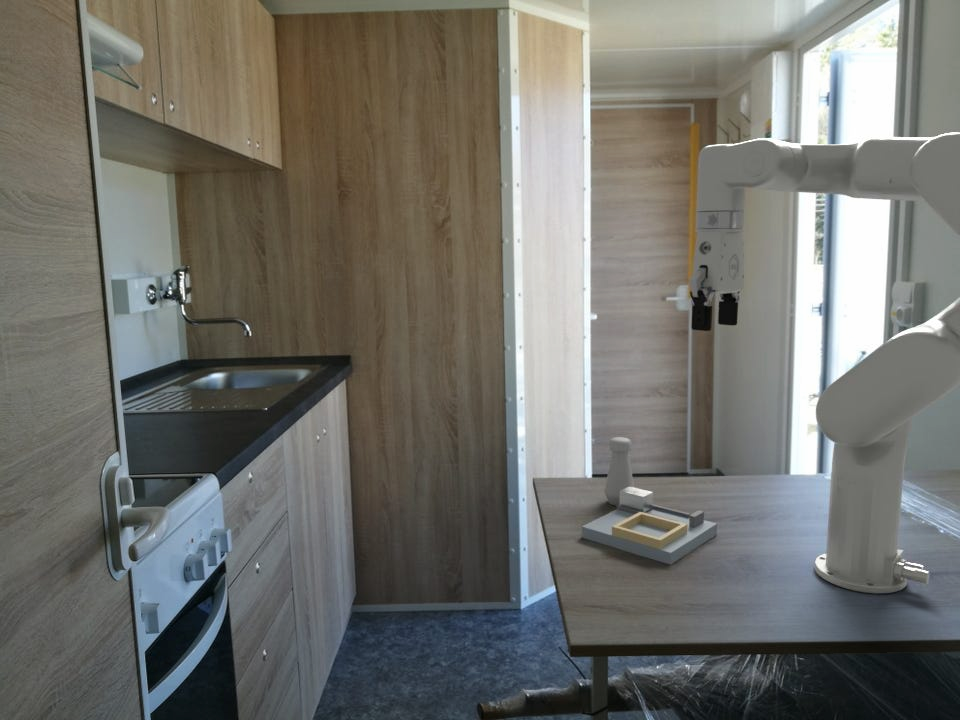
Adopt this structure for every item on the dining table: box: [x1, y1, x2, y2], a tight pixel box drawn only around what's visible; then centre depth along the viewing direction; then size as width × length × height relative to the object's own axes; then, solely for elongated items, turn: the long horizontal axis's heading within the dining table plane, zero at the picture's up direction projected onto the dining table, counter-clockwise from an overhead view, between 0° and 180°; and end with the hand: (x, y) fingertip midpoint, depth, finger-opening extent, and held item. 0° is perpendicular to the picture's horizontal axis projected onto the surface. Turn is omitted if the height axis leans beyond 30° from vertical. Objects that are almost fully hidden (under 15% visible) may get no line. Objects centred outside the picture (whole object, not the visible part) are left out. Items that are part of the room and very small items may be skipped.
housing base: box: [581, 503, 718, 565], centre depth 130 cm, size 17×16×4 cm
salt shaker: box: [604, 436, 635, 507], centre depth 146 cm, size 6×6×13 cm
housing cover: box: [619, 486, 654, 512], centre depth 137 cm, size 5×3×3 cm
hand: (714, 327), depth 124 cm, fingers open, 9 cm apart
